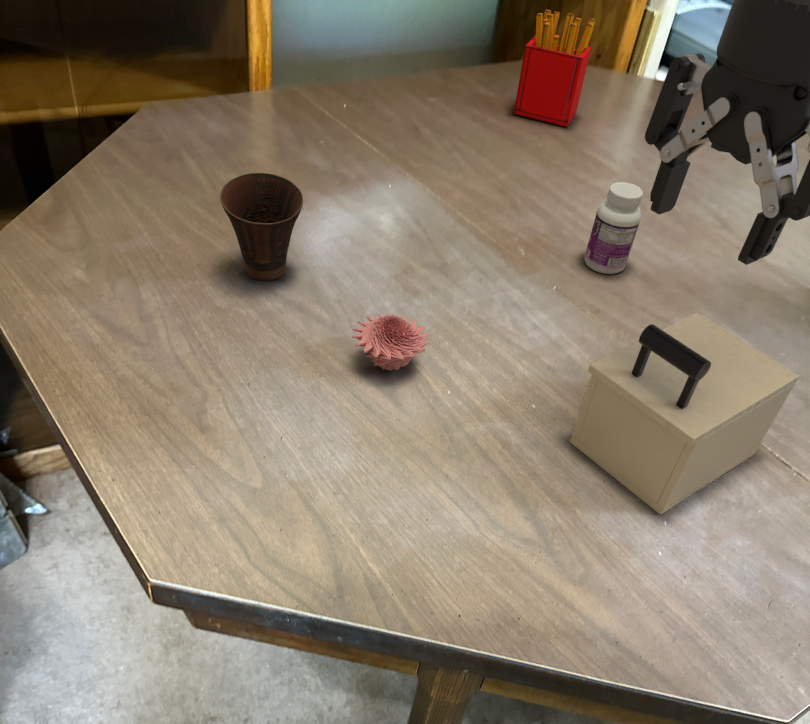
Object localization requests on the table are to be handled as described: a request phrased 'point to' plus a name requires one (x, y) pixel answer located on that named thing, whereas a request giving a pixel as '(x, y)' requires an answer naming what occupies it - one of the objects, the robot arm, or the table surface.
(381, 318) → the flower
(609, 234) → the pill bottle
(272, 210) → the cup
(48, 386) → the table surface
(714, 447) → the tan wooden box
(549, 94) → the french fries container
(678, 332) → the box lid
